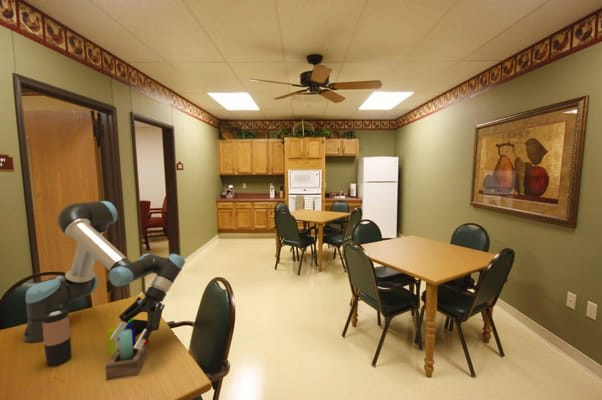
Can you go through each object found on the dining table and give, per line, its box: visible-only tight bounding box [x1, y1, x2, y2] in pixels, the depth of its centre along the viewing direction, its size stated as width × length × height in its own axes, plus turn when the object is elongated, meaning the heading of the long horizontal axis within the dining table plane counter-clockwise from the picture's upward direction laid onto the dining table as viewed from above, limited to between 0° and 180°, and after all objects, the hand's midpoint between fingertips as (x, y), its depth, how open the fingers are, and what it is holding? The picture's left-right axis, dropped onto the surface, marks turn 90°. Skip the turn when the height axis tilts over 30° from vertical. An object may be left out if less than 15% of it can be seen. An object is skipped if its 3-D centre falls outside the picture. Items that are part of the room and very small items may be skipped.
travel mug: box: [42, 307, 72, 368], centre depth 104 cm, size 8×8×20 cm
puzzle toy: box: [106, 318, 150, 356], centre depth 112 cm, size 10×10×10 cm
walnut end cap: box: [104, 344, 148, 380], centre depth 101 cm, size 10×10×5 cm
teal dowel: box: [119, 329, 134, 361], centre depth 100 cm, size 4×4×12 cm
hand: (124, 344), depth 99 cm, fingers open, 13 cm apart
